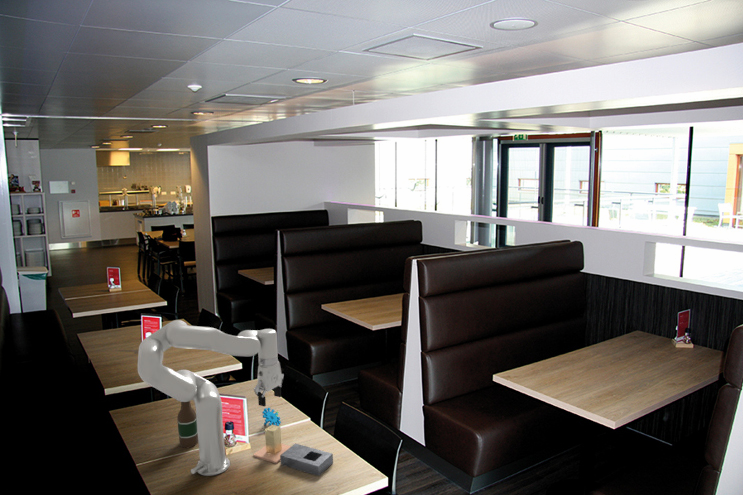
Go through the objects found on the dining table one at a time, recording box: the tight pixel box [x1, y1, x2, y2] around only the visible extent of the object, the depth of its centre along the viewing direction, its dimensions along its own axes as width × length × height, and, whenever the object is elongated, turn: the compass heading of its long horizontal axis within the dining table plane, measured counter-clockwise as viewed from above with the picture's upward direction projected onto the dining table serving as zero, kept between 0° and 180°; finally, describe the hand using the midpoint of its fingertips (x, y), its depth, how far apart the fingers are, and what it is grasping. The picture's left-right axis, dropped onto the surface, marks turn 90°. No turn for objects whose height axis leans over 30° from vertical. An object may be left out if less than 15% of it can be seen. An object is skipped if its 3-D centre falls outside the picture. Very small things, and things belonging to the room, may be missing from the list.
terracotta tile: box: [252, 443, 293, 464], centre depth 220 cm, size 12×12×1 cm
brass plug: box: [264, 424, 282, 455], centre depth 220 cm, size 4×4×10 cm
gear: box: [261, 407, 282, 427], centre depth 245 cm, size 11×6×10 cm
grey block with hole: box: [280, 443, 334, 477], centre depth 211 cm, size 10×18×4 cm, turn 61°
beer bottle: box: [177, 401, 199, 448], centre depth 228 cm, size 8×8×24 cm
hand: (270, 400), depth 217 cm, fingers open, 9 cm apart
